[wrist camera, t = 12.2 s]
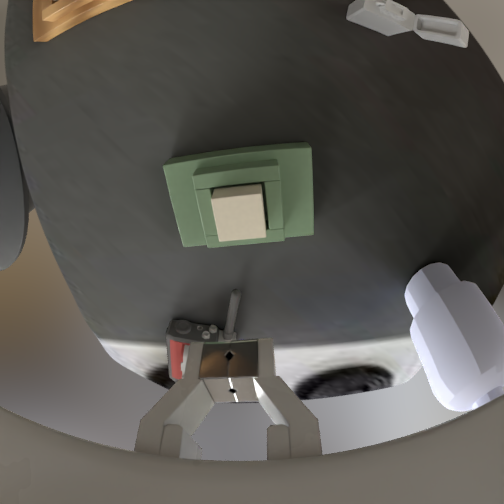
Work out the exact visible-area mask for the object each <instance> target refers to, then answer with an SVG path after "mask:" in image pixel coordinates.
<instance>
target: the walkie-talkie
mask: <svg viewBox="0 0 504 504" xmlns="http://www.w3.org/2000/svg"><path fill="white" fill-rule="evenodd" d="M240 297H241V292H240V291H239V290H238V289H234V290H233V291H232V293H231V299H230V304H229V309H228V315H227V320H226V326H225V328H224V331H222V330H219V328H218V327H216V326H215V325H211V326H208V325H201V324H195V323H190V322H189V321H187V320H179V321H178V320H171V321H170V323H169V327H168V328H167V331H166V342H167V343H166V345H167V355H168V368H169V377H170V378H171V379H172V380H174V381H175V382H177V381H178V380H179V379H183V378H184V372H185V367H186V361H187V356H188V350H189V346H190V344H191V342H225V341H235V340H236V332H234V330H233V329H234V325H235V320H236V315H237V311H238V306H239V301H240Z"/></svg>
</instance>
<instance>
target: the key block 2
mask: <svg viewBox="0 0 504 504" xmlns="http://www.w3.org/2000/svg"><path fill="white" fill-rule="evenodd" d="M163 169H164V173H165V177H166V181H167V185H168V190H169V194H170V198H171V202H172V206H173V210H174V213H175V217H176V221H177V225H178V229H179V232H180V236H181V239H182V243H183V246H184V247H188V246H198V245H207V247H208V248H212V247H223V246H233V245H244V244H254V243H265V242H276V241H284V240H285V237H294V236H305V235H314V207H313V173H312V151H311V147H310V146H309V144H308V143H307V142H298V143H284V144H272V145H261V146H251V147H242V148H234V149H226V150H219V151H212V152H205V153H199V154H193V155H187V156H181V157H175V158H170V159H169V160H168V161H167V162H166V163H165V164H164V165H163ZM252 184H261V187H262V196H263V205H264V214H265V223H266V237H265V238H254V239H243V240H233V241H223V242H220V241H219V238H218V233H217V228H216V223H215V218H214V213H213V208H212V202H211V198H212V195H213V192H214V189H217V188H225V187H234V186H243V185H252Z"/></svg>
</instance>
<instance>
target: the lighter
mask: <svg viewBox="0 0 504 504" xmlns="http://www.w3.org/2000/svg"><path fill="white" fill-rule="evenodd" d="M346 19H347V20H348V21H351V22H354V23H357V24H359V25H362V26H365V27H367V28H370V29H372V30H375V31H377V32H379V33H382V34H384V35H386V36H390V35H394V34H398V33H402V32H407V31H411V30H414V31H415V32H416V33H417V34H418V35H419V36H420V37H422V38H423V39H426V40H432V41H437V42H442V43H447V44H451V45H456V46H460V47H464V48H465V47H467V44H468V37H469V31H468V30H467V28H466V27H465V26H464V24H463V23H462V22H461V21H460V20H456V19H450V18H444V17H437V16H429V15H419V14H417V15H416V16H415V14H414V13H412V12H411V11H409V10H408V8H406V7H404V6H402V5H400V4H398V3H396V2H394V1H392V0H356V1H354V2H353V3H351V4H350V5H349V6H348V11H347V16H346Z"/></svg>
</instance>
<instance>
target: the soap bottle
mask: <svg viewBox="0 0 504 504" xmlns="http://www.w3.org/2000/svg"><path fill="white" fill-rule="evenodd" d="M405 299H406V303H407V306H408V308H409V310H410V312H411V314H412V316H413V318H414V319H413V322H412V325H411V328H410V333H411V338H412V341H413V343H414V346H415V348H416V350H417V353H418V355H419V358H420V360H421V363H422V365H423V367H424V370H425V373H426V375H427V378H428V380H429V383H430V386H431V388H432V391H433V394H434V395H435V397H436V398H437V399H438V401H439V402H440V403H441V404H442V405H443V406H445V407H446V408H447V409H450V410H453V411H457V412H460V411H468V410H472V409H473V410H474V409H476V408H478V407H480V406H482V405H484V404H486V403H488V402H490V401H492V400H494V399H495V398H497V397H499V396H501V395H503V394H504V390H503V387H504V324H503V323H502V321H501V320H500V318H499V316H498V315H497V313H496V312H495V310H494V309H493V307H492V306H491V304H490V303H489V302H488V300H487V299H486V297H485V296H484V295H483V293H482V292H481V290H480V289H479V288H478V286H477V285H476V284H475V283H472V282H468V281H461V282H460V280H459V279H458V278H457V276H456V275H455V273H454V272H453V271H452V270H451V268H450V267H449V266H448V265H447V264H444V263H440V262H438V263H433V264H429V265H427V266H425V267H424V268H422V269H420V270H419V271H418V272H417V273H416V274H415V275H414V276H413V277H412V278H411V280H410V282H409V283H408V285H407V287H406V291H405Z"/></svg>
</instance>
